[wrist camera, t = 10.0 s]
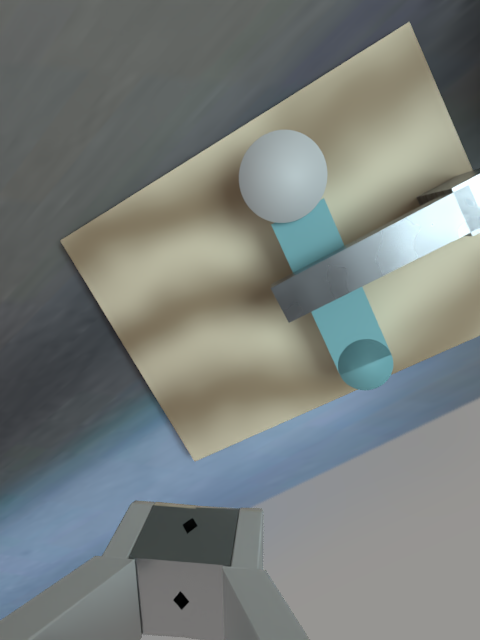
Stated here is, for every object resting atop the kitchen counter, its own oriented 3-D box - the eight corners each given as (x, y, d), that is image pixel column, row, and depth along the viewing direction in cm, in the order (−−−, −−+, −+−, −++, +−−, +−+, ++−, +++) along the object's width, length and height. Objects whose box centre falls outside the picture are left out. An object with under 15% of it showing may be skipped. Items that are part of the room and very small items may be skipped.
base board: (68, 240, 26) (36, 241, 23) (403, 31, 22) (426, -7, 18) (197, 453, 29) (185, 483, 25) (523, 308, 24) (562, 321, 21)
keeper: (271, 273, 24) (268, 284, 20) (457, 175, 22) (505, 160, 17) (289, 307, 25) (290, 326, 20) (474, 214, 22) (525, 209, 18)
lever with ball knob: (232, 166, 23) (224, 156, 20) (302, 128, 22) (305, 112, 19) (333, 385, 25) (340, 406, 22) (401, 358, 24) (417, 377, 21)
